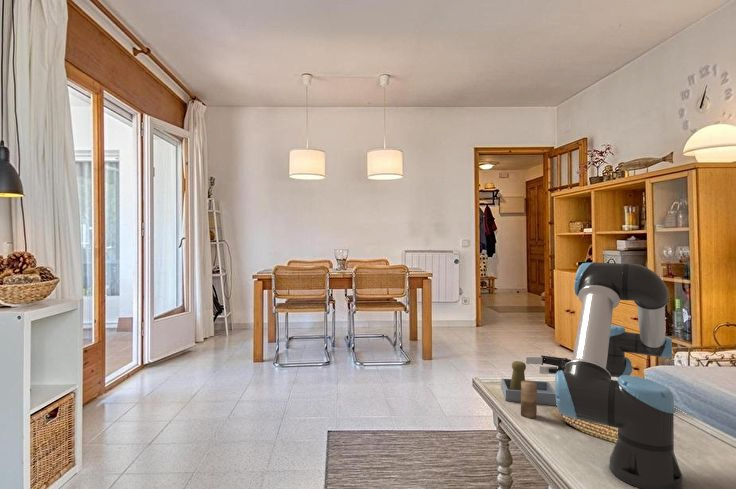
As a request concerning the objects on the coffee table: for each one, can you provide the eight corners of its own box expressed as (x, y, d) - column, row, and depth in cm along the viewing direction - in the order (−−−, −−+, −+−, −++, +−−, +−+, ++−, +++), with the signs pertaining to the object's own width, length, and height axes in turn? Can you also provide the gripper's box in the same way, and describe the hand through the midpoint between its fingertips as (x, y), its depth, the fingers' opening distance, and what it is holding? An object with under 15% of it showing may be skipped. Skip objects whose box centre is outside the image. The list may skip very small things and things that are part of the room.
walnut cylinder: (538, 419, 139) (538, 385, 139) (522, 417, 140) (522, 384, 140) (534, 413, 144) (535, 381, 144) (519, 412, 145) (519, 380, 145)
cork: (507, 389, 164) (508, 361, 164) (512, 386, 169) (513, 358, 169) (523, 393, 161) (524, 365, 161) (527, 389, 166) (529, 361, 165)
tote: (557, 405, 152) (557, 394, 152) (505, 400, 155) (505, 390, 155) (548, 391, 166) (548, 381, 166) (501, 388, 170) (501, 378, 170)
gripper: (605, 386, 149) (545, 384, 149) (572, 366, 174) (520, 365, 174) (605, 365, 149) (545, 363, 149) (572, 348, 174) (520, 347, 174)
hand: (531, 364), depth 162 cm, fingers open, 13 cm apart
